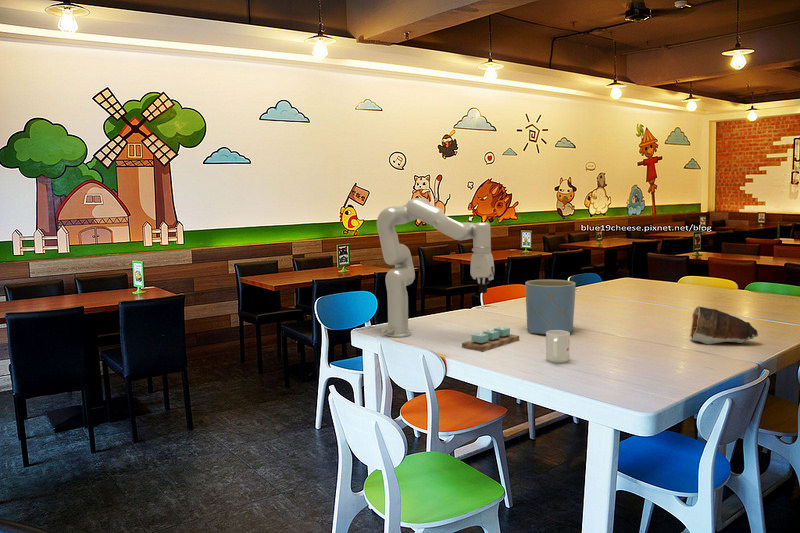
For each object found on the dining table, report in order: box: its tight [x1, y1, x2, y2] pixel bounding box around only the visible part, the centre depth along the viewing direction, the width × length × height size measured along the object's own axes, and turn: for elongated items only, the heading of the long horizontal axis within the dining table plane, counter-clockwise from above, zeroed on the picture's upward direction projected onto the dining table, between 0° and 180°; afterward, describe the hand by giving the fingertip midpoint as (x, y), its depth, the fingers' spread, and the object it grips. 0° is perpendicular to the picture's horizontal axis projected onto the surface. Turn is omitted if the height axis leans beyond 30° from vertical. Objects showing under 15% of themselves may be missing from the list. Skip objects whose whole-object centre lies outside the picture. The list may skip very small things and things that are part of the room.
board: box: [461, 333, 520, 353], centre depth 262 cm, size 27×11×2 cm, turn 136°
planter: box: [524, 279, 577, 335], centre depth 282 cm, size 23×23×24 cm
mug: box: [545, 330, 571, 364], centre depth 232 cm, size 12×9×11 cm
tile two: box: [482, 329, 499, 340], centre depth 262 cm, size 5×5×3 cm
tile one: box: [471, 332, 488, 343], centre depth 256 cm, size 5×5×3 cm
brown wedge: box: [689, 306, 759, 345], centre depth 256 cm, size 15×15×25 cm
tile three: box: [493, 326, 511, 336], centre depth 268 cm, size 5×5×3 cm
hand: (483, 292), depth 263 cm, fingers closed
